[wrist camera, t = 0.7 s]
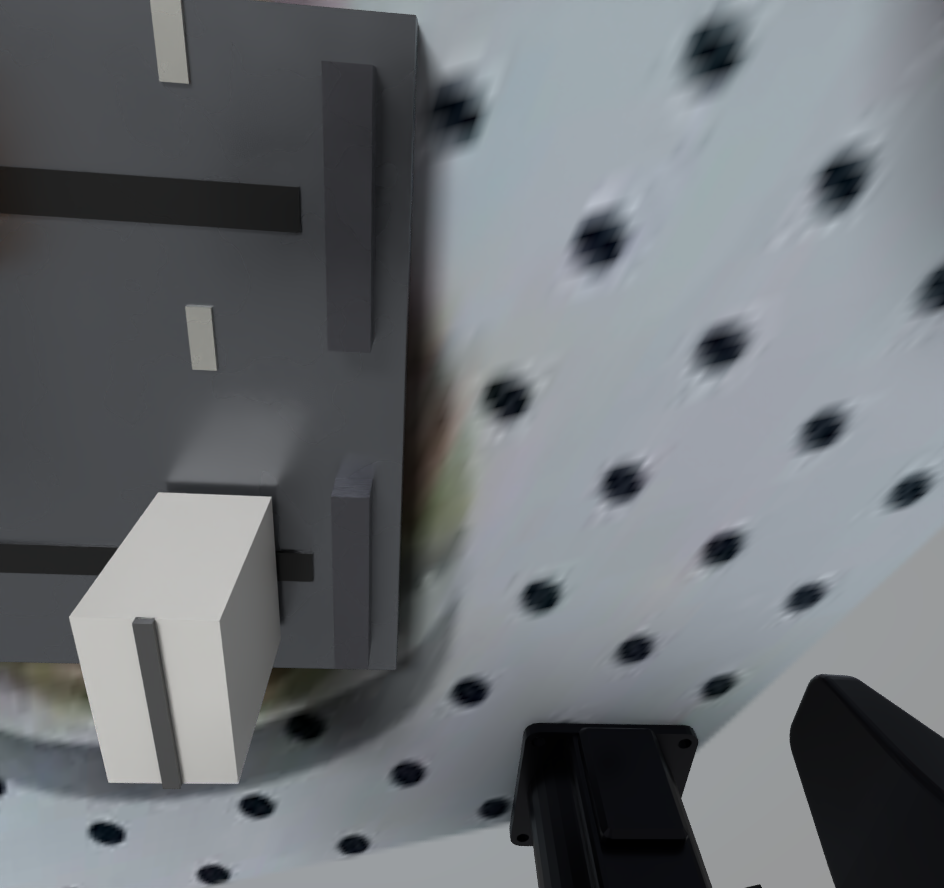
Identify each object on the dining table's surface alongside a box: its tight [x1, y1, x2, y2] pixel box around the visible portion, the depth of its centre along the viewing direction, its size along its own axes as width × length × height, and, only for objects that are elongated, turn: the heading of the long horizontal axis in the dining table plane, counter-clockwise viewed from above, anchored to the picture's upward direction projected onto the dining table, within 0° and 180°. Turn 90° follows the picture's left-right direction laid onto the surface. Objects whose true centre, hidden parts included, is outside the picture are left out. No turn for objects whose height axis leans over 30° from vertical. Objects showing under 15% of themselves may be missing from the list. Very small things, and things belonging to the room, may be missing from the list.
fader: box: [69, 492, 281, 789], centre depth 17 cm, size 5×3×5 cm, turn 176°
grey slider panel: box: [0, 0, 418, 670], centre depth 18 cm, size 18×18×2 cm
